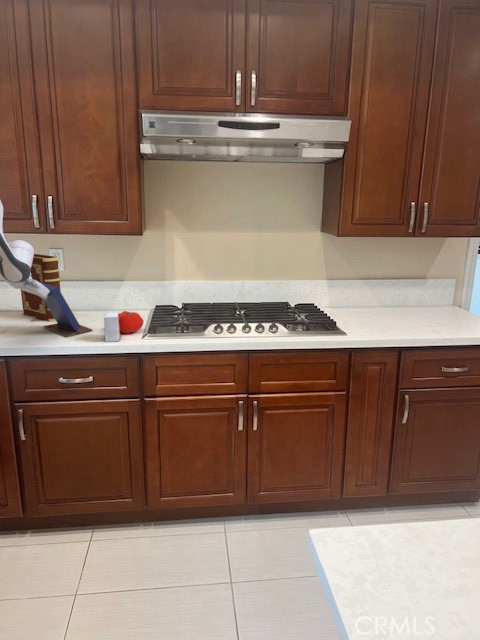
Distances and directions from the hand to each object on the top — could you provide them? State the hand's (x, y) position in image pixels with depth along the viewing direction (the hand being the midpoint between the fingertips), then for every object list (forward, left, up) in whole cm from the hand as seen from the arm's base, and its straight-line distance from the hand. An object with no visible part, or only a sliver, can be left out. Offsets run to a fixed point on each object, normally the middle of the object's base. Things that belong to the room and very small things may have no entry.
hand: (45, 297), depth 195 cm
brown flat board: (+8, -4, -16) cm, 18 cm away
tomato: (+13, -31, -16) cm, 37 cm away
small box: (+1, -29, -16) cm, 33 cm away
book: (+9, -4, -14) cm, 17 cm away
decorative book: (+25, +19, -16) cm, 35 cm away
